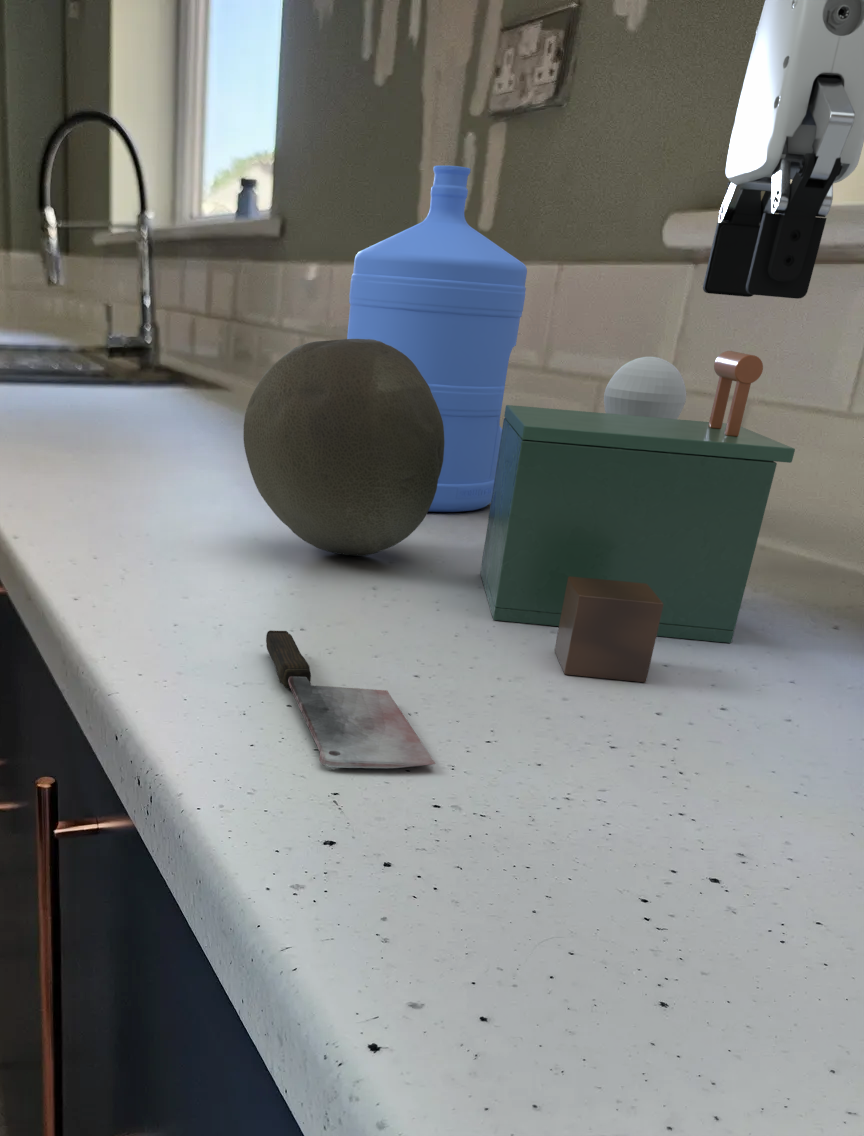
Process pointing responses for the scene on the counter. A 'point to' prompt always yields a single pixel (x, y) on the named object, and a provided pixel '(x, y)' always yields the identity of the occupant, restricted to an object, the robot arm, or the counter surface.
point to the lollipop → (646, 389)
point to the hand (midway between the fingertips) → (749, 295)
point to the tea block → (608, 629)
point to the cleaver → (347, 716)
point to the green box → (623, 530)
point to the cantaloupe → (345, 444)
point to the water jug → (447, 328)
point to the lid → (664, 423)
